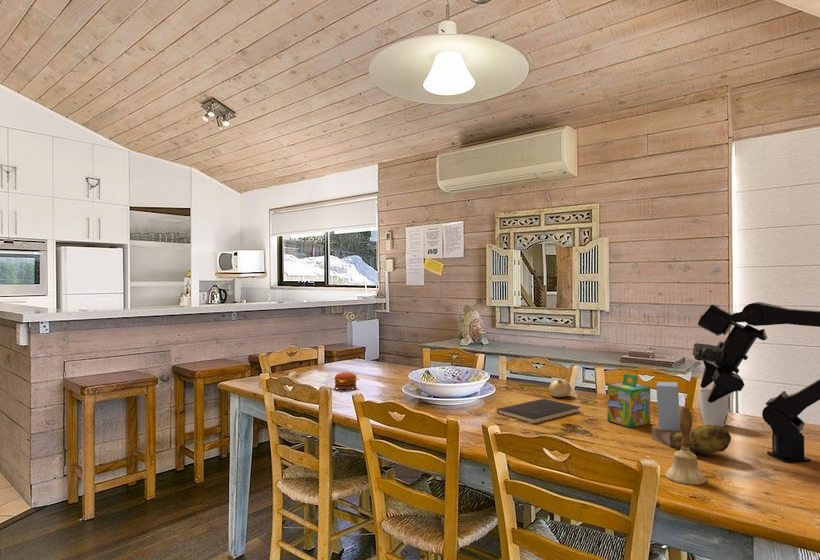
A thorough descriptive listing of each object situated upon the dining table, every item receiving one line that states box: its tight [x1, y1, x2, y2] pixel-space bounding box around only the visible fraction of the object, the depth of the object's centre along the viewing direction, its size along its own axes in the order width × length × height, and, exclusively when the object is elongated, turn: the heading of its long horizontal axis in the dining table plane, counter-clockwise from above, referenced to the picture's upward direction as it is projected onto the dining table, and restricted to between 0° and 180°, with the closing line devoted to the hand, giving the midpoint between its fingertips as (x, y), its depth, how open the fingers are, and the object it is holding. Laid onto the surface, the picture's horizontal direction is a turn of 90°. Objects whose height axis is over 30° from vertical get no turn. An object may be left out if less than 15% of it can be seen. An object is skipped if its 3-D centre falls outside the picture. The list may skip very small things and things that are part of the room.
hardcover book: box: [496, 398, 581, 424], centre depth 176 cm, size 16×23×2 cm
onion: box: [548, 378, 572, 398], centre depth 199 cm, size 8×8×7 cm
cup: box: [698, 388, 731, 428], centre depth 158 cm, size 8×8×10 cm
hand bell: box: [664, 406, 707, 486], centre depth 118 cm, size 8×8×16 cm
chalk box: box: [606, 373, 651, 429], centre depth 162 cm, size 9×9×15 cm
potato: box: [672, 424, 732, 455], centre depth 133 cm, size 8×13×8 cm, turn 26°
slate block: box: [655, 381, 681, 431], centre depth 143 cm, size 5×5×12 cm
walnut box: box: [651, 425, 681, 448], centre depth 143 cm, size 7×7×4 cm
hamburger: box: [331, 371, 360, 390], centre depth 221 cm, size 9×10×7 cm
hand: (705, 394), depth 142 cm, fingers open, 9 cm apart
